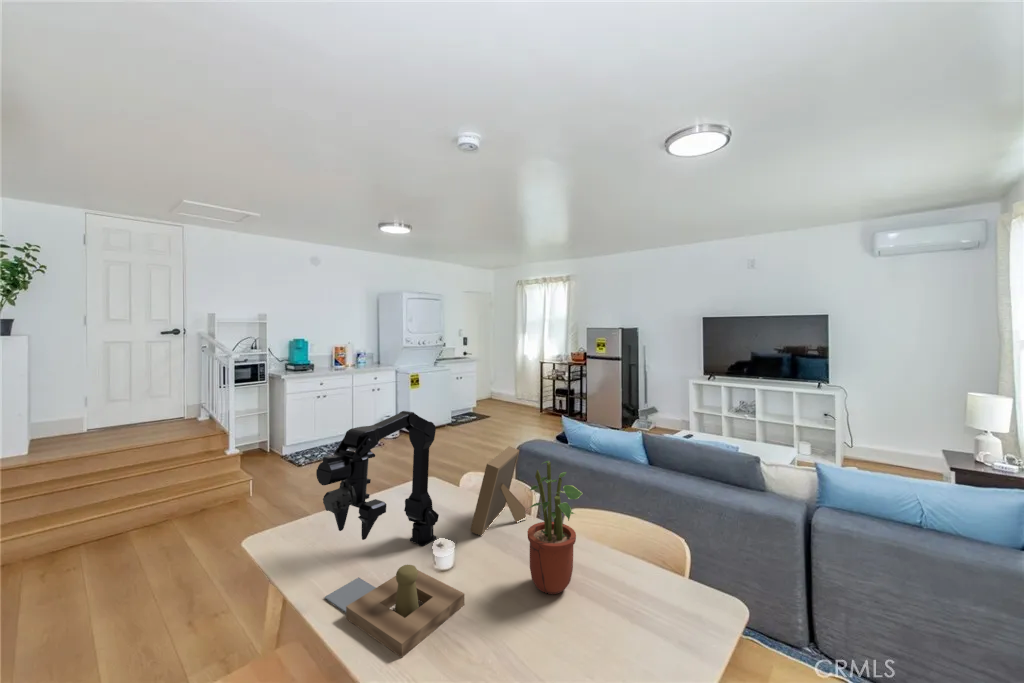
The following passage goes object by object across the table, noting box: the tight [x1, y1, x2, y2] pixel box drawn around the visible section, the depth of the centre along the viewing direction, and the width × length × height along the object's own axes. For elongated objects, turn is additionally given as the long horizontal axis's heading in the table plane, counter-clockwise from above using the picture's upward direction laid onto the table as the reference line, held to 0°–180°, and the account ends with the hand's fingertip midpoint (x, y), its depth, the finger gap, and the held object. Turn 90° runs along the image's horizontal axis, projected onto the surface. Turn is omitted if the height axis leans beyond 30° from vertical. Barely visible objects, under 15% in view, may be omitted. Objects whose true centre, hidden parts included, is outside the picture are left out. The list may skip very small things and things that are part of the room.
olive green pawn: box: [393, 564, 420, 618], centre depth 99 cm, size 6×6×11 cm
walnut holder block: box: [345, 569, 465, 658], centre depth 99 cm, size 20×20×3 cm
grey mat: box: [323, 577, 377, 614], centre depth 105 cm, size 10×10×1 cm
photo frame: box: [470, 445, 527, 536], centre depth 144 cm, size 15×22×25 cm
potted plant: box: [524, 460, 584, 595], centre depth 111 cm, size 17×16×35 cm
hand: (352, 534), depth 108 cm, fingers open, 9 cm apart
